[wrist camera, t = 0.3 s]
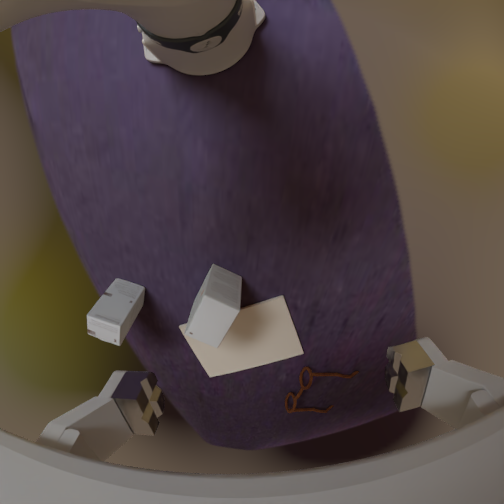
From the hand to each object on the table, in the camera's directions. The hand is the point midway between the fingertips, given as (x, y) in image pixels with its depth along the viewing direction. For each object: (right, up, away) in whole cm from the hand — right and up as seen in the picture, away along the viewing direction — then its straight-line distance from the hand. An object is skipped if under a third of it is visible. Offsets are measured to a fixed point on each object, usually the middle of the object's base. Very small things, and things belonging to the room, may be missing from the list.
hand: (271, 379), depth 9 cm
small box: (-6, -2, +42) cm, 42 cm away
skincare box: (-23, -3, +42) cm, 48 cm away
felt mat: (-2, -12, +46) cm, 48 cm away
